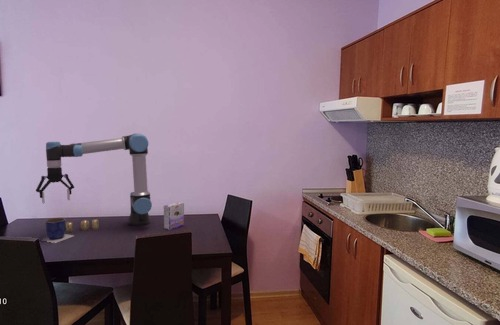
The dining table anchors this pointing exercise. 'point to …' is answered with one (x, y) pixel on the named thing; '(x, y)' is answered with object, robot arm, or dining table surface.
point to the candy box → (173, 215)
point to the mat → (60, 238)
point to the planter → (55, 228)
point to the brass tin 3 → (95, 224)
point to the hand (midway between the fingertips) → (56, 201)
